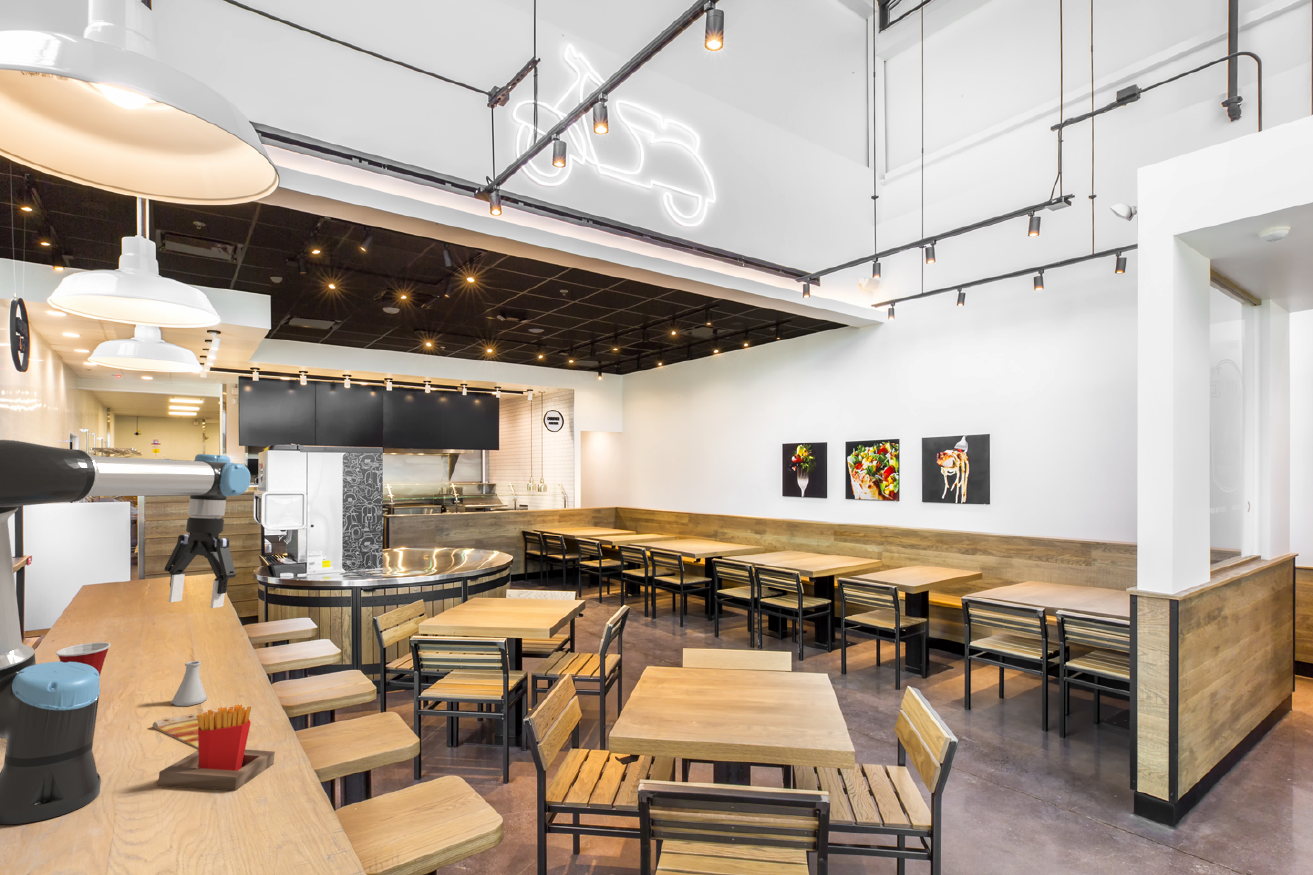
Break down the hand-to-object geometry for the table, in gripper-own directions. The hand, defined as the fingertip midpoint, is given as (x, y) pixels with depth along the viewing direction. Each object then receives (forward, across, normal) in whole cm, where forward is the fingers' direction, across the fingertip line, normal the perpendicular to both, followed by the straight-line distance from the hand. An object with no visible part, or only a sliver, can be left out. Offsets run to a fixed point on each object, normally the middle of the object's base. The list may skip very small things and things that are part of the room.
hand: (195, 604), depth 160 cm
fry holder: (+27, -33, +18) cm, 47 cm away
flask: (+27, +9, -9) cm, 30 cm away
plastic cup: (+27, +38, -2) cm, 47 cm away
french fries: (+28, -33, +18) cm, 47 cm away
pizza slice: (+28, -8, +6) cm, 30 cm away
